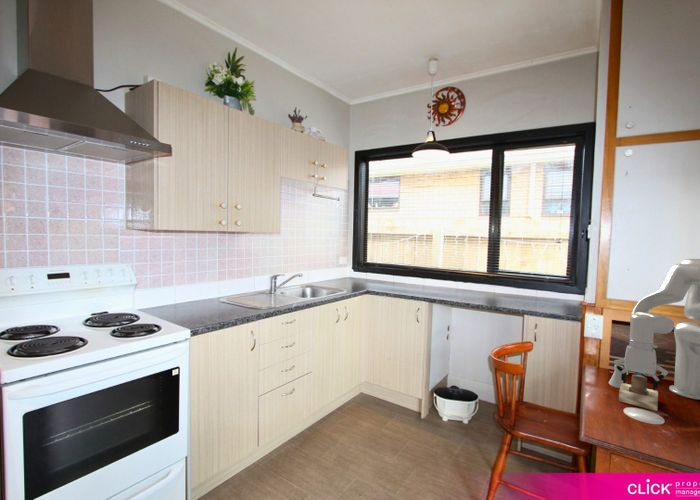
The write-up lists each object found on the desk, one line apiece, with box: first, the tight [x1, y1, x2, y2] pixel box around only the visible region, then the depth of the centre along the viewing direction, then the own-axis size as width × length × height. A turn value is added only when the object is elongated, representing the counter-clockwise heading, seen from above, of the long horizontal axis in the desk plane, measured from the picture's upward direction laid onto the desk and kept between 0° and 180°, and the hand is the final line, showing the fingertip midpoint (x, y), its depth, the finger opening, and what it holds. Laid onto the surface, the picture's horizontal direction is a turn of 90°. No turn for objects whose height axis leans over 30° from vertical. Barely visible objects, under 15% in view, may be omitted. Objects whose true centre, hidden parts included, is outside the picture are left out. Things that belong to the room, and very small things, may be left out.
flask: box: [608, 364, 627, 389], centre depth 161 cm, size 7×7×10 cm
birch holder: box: [618, 382, 659, 412], centre depth 145 cm, size 12×12×5 cm
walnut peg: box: [630, 374, 648, 395], centre depth 145 cm, size 5×5×10 cm
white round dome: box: [623, 407, 666, 425], centre depth 133 cm, size 12×12×1 cm
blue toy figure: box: [626, 370, 649, 376], centre depth 174 cm, size 11×6×10 cm
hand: (638, 385), depth 145 cm, fingers open, 9 cm apart
